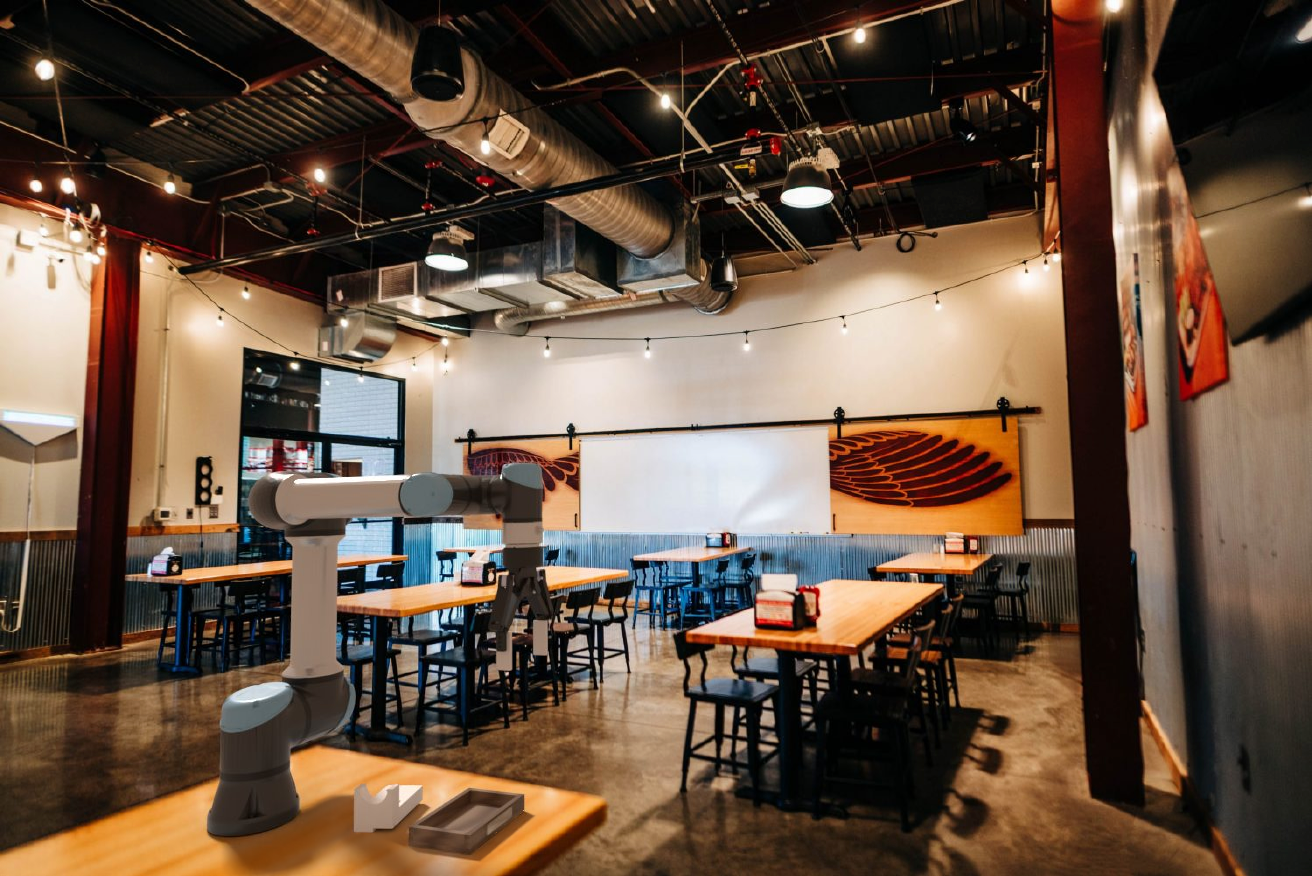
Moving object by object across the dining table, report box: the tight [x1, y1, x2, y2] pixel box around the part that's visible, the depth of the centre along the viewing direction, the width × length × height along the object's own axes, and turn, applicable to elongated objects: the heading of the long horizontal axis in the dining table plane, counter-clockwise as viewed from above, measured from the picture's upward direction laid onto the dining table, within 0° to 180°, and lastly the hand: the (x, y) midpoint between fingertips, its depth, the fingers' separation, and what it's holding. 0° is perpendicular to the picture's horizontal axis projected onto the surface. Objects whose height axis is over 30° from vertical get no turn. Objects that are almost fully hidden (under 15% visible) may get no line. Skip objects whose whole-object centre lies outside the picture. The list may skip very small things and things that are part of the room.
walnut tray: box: [408, 787, 525, 855], centre depth 131 cm, size 12×18×3 cm
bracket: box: [353, 783, 424, 833], centre depth 137 cm, size 13×7×8 cm, turn 174°
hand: (523, 662), depth 136 cm, fingers open, 13 cm apart
